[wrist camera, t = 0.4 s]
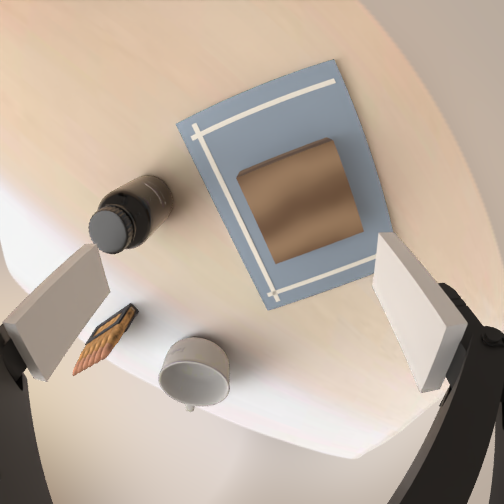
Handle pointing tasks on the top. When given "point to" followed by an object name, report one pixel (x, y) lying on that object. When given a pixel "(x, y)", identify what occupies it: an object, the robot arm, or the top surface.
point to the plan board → (276, 143)
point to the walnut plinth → (301, 200)
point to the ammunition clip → (105, 338)
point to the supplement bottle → (130, 214)
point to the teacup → (195, 373)
